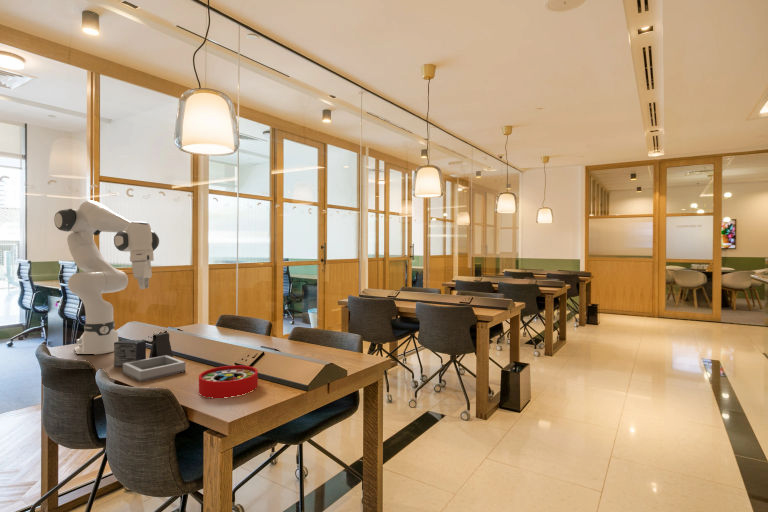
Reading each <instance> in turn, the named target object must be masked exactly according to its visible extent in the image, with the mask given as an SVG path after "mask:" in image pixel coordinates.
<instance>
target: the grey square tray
mask: <svg viewBox="0 0 768 512" xmlns="http://www.w3.org/2000/svg"><path fill="white" fill-rule="evenodd" d="M184 371H185V372H186V361H184V360H181V359H178V358H175V357H174V356H173V357H170V356H167V355H164V356H159V357H154V358H149V357H148V358H146V359H143V360H138V361H133V362H128V363H123V367H122V374H123V373H124V375H125V374H126V375H125V376H127V375H128V376H127V377H129V376H130V377H129V378H131V377H132V378H131V379H133V378H134V379H133V380H135V379H136V381H137V380H138V381H137V382H139V381H140V382H139V383H142V382H141V381H143V382H147V381H146V380H148V381H152V380H156V379H160V377H161V378H164V376H165V377H169V376H173V375H172V374H174V375H177V374H176V373H178V374H181V373H180V372H182V373H185V372H184ZM168 375H169V376H168ZM155 378H156V379H155ZM151 379H152V380H151Z"/></svg>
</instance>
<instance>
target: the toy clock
mask: <svg viewBox="0 0 768 512" xmlns="http://www.w3.org/2000/svg"><path fill="white" fill-rule="evenodd" d="M258 378H259V376H258V369H257V368H256V367H254V366H250V365H249V366H248V365H241V364H240V365H239V364H237V365H225V366H218V367H213V368H209V369H207V370H203V372H201V373H199V375H198V394H199V393H200V394H201V395H202V396H201V395H200V394H199V395H200V396H201V397H203V396H205V397H204V398H207V397H213V398H212V399H215V398H223V399H225V398H224V397H231V396H237V395H242V394H245V393H248V392H250V391H252V390H254V389H255V388H256V387H257V386H259V385H258V384H259V382H258V381H259V380H258ZM257 388H258V387H257ZM242 396H243V395H242Z"/></svg>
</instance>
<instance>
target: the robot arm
mask: <svg viewBox="0 0 768 512" xmlns="http://www.w3.org/2000/svg"><path fill="white" fill-rule="evenodd" d="M53 218H54V220H53V221H54V226H55V227H56V228H57V229H58V230H59V231H62V232H70V233H69V235H68V236H67V238H66V241H67V246H68V249H69V250H68V251H70V254H71V256H72V259H73V261H74V263H75V265H76V267H77V268H78V269H79V270H81V271H82V272H77V273H73V274H71V276H70V277H69V278H68V280H67V287H68V289H69V291H70V292H71V293H72V294H73V295H75V296H77V297H78V299H80V300H81V302H82V304H83V306H84V313H85V323H84V325H83V330H84V331H83V333H82V334H81V336H80V337H79V338H77V339H76V344H77V345H78V346H74V349H75V350H74V352H75V351H76V352H75V354H76V353H77V354H94V355H103V354H108V353H113V352H114V342H118V341H119V332H118V331H117V330H115V328H116V327H115V324H116V323H115V320H114V306H113V304H112V303H111V302H110V301H107V300H104V298H103V295H102V294H109V293H117V292H120V291H123V290H126V288H127V287H128V284H129V278H128V275H127V273H125V272H124V271H122V270H120V269H117V268H116V267H114V266H112V264H110V263H109V262H108V261H106V260H105V258H104V257H103V255H102V254H101V252H100V249H99V247H98V245H97V244H96V242H95V240H94V236H99V235H100V234H101V233H102V232H105V233H116V234H115V235H114V238H113V244H114V247H115V248H116V249H117V250H118V251H119V252H123V253H124V252H125V253H126V252H129V254H130V255H129V261H130V263H131V268H132V275H133V278H134V280H135V279H136V280H137V283H138V288H139V289H140V290H144V289H149V288H150V287H149V286H150V285H149V284H150V279H151V278H152V276H153V273H152V263H151V262H153V261H155V258H154V251H155V250H156V249H158V247H159V245H160V238H159V236H158V234H157V232H155V231H154V230H152V227H151V225H150V223H148V221H147V222H146V221H136V220H135V221H134V220H133V221H131V220H129V219H128V218H125V217H123V216H122V215H119V214H118V213H116V212H115V211H113V210H111V209H110V208H108V207H107V206H106V205H104V204H102V203H100V202H98V201H95V200H91V199H90V200H85V201H83V202H82V203H81V204H80V205H79V207H78V209H75V208H74V209H73V208H66V209H65V208H64V209H61V210H58V211H57V212H56V213H55V215H54V217H53Z"/></svg>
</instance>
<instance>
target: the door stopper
mask: <svg viewBox="0 0 768 512" xmlns="http://www.w3.org/2000/svg"><path fill="white" fill-rule="evenodd" d="M149 352H150V353H149V357H148V359H149V358H154V357H159V356H164V355H167V356H170V357H173V358H174V355H173V351H172V345H171V342H170V333H169V332H162V333H156V334H153V335H152V343H151V347H150V351H149Z"/></svg>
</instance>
